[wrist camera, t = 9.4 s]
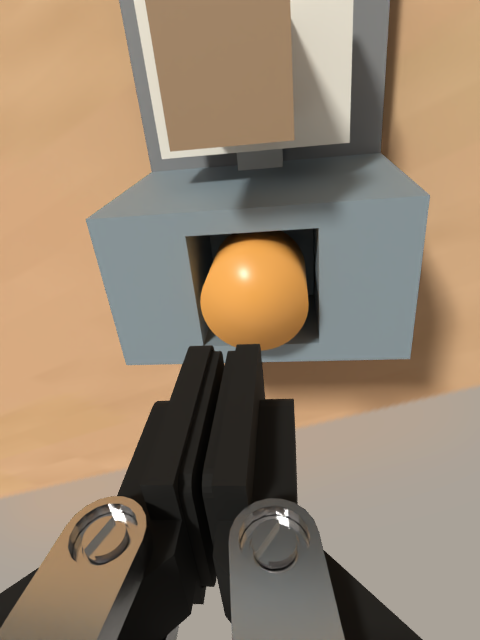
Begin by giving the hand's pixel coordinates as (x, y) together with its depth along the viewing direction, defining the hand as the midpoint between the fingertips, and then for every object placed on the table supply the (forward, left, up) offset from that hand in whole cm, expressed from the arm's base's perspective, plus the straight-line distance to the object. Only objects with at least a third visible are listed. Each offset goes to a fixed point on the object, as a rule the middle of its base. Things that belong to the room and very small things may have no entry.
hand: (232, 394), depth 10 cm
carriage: (0, -7, -13) cm, 14 cm away
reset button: (0, 0, -8) cm, 8 cm away
